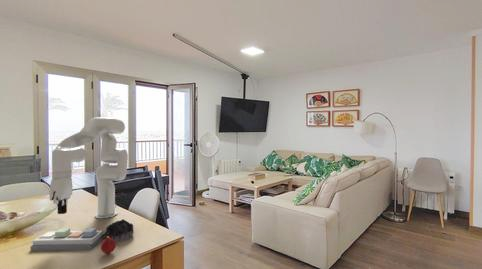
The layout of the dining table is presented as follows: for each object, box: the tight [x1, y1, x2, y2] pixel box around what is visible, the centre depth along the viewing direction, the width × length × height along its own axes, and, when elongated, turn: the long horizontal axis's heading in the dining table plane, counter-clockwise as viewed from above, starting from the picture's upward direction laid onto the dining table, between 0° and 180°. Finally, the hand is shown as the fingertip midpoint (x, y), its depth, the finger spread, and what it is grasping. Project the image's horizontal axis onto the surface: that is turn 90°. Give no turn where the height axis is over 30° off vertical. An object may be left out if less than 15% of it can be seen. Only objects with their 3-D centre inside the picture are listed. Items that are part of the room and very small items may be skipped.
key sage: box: [55, 227, 71, 237], centre depth 120 cm, size 4×4×2 cm
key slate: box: [82, 227, 98, 237], centre depth 121 cm, size 4×4×2 cm
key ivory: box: [40, 232, 55, 239], centre depth 120 cm, size 4×4×2 cm
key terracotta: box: [69, 232, 83, 238], centre depth 120 cm, size 4×4×2 cm
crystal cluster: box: [103, 218, 134, 243], centre depth 128 cm, size 13×14×10 cm
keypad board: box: [30, 229, 105, 252], centre depth 120 cm, size 13×26×4 cm, turn 93°
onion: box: [100, 236, 117, 255], centre depth 110 cm, size 6×6×8 cm
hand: (62, 213), depth 119 cm, fingers closed
